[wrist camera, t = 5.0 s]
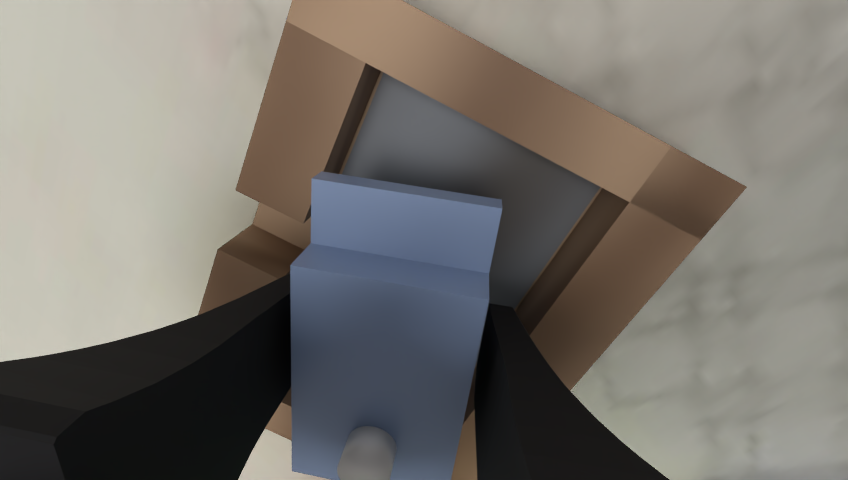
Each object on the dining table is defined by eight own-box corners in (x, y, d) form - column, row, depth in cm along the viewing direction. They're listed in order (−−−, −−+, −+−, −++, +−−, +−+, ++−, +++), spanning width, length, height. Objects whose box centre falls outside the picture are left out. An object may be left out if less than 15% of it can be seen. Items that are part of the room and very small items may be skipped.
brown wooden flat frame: (690, 157, 13) (747, 186, 10) (463, 448, 18) (459, 518, 16) (349, -27, 12) (307, -51, 9) (224, 335, 18) (176, 387, 15)
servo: (498, 163, 12) (505, 247, 7) (452, 402, 16) (434, 574, 11) (361, 143, 13) (269, 208, 7) (347, 381, 16) (279, 539, 11)
